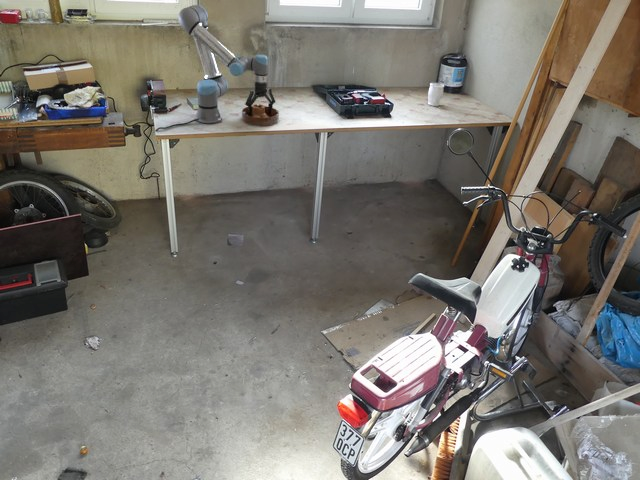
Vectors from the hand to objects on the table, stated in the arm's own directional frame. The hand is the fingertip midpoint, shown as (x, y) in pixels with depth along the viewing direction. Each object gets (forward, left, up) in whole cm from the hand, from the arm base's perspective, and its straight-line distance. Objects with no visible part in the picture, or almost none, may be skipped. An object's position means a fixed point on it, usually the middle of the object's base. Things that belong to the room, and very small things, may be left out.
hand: (260, 115), depth 335 cm
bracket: (0, 0, -3) cm, 3 cm away
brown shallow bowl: (0, 0, -3) cm, 3 cm away
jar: (+137, -17, -3) cm, 138 cm away
